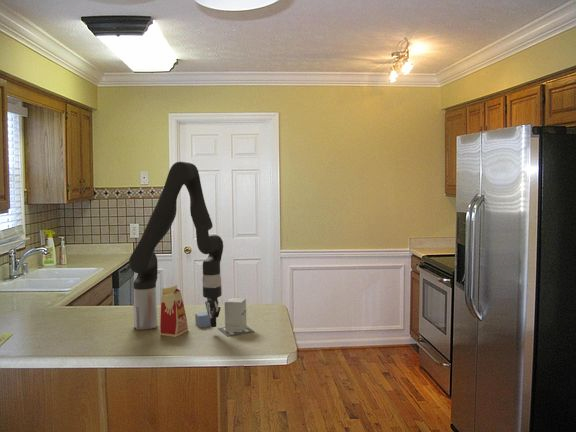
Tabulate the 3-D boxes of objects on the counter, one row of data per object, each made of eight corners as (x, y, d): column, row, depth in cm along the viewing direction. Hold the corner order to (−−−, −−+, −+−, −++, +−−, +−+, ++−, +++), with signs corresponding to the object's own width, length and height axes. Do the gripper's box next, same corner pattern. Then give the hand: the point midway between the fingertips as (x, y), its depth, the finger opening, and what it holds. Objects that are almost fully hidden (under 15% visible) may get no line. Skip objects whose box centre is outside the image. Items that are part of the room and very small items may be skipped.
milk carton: (188, 330, 218) (186, 283, 216) (176, 337, 209) (174, 288, 208) (169, 328, 221) (167, 282, 219) (157, 335, 212) (155, 286, 211)
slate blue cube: (198, 327, 222) (198, 316, 221) (195, 324, 226) (195, 313, 226) (210, 326, 224) (209, 314, 223) (206, 323, 228) (206, 312, 228)
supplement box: (242, 332, 212) (241, 302, 211) (224, 332, 214) (223, 301, 213) (247, 327, 220) (246, 298, 219) (230, 326, 221) (229, 297, 220)
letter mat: (227, 336, 209) (227, 335, 209) (217, 328, 219) (217, 328, 219) (255, 331, 214) (255, 331, 214) (244, 324, 225) (244, 324, 225)
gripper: (198, 282, 215) (199, 324, 216) (207, 289, 203) (209, 332, 204) (215, 280, 218) (216, 321, 220) (226, 286, 206) (227, 329, 208)
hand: (213, 326), depth 212 cm, fingers closed
